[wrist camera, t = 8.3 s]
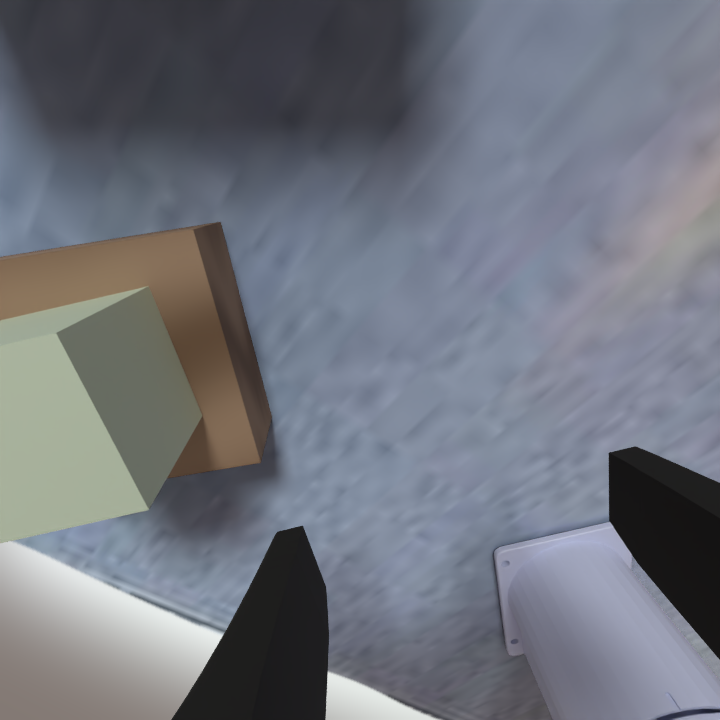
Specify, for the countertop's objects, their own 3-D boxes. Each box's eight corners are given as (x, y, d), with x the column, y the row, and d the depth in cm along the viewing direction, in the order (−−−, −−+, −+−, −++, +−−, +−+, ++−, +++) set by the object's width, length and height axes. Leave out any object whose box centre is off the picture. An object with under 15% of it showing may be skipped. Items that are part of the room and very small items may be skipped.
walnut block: (272, 413, 20) (260, 462, 16) (89, 443, 20) (35, 500, 16) (222, 221, 17) (193, 229, 13) (0, 256, 17) (-93, 275, 13)
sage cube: (202, 415, 15) (148, 509, 11) (73, 445, 16) (-36, 551, 11) (148, 286, 14) (55, 333, 9) (2, 320, 14) (-167, 383, 9)
